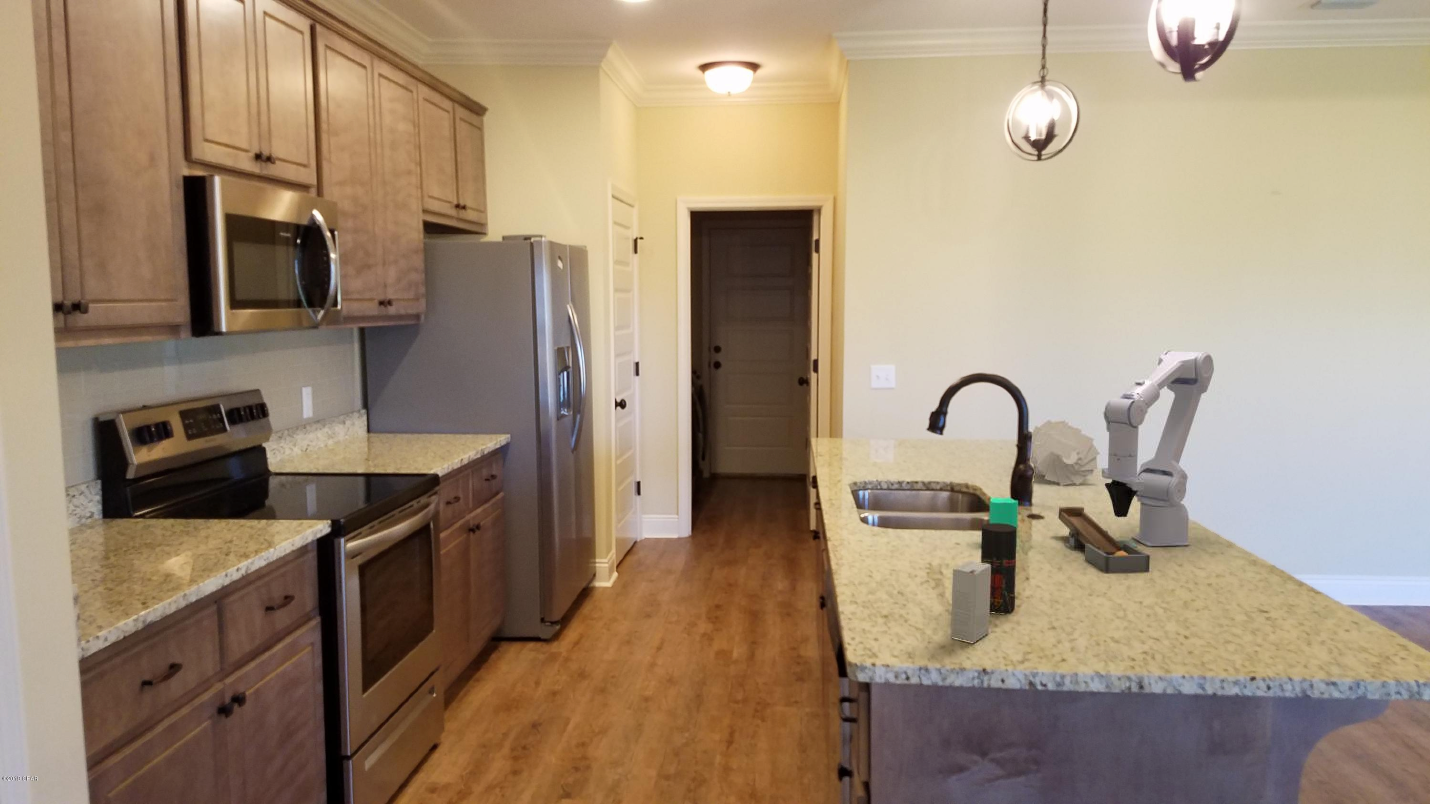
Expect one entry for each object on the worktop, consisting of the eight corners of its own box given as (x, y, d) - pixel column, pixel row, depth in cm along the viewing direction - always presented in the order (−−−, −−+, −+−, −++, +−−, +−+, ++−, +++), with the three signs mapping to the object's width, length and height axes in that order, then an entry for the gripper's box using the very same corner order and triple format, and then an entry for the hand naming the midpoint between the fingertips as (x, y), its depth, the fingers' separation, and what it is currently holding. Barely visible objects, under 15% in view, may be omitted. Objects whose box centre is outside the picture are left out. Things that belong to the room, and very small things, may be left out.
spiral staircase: (1063, 484, 284) (1085, 498, 259) (1011, 460, 285) (1028, 471, 261) (1090, 432, 282) (1115, 441, 257) (1037, 408, 283) (1057, 415, 258)
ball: (1131, 549, 183) (1134, 565, 182) (1124, 552, 186) (1127, 567, 185) (1115, 550, 183) (1118, 565, 182) (1109, 552, 186) (1111, 568, 185)
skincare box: (965, 628, 153) (966, 559, 151) (990, 634, 150) (992, 563, 149) (949, 639, 148) (950, 567, 147) (975, 645, 145) (976, 572, 144)
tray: (1126, 557, 191) (1127, 542, 191) (1149, 571, 182) (1149, 555, 182) (1084, 558, 191) (1085, 543, 191) (1105, 572, 182) (1105, 556, 181)
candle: (1018, 549, 199) (1019, 496, 197) (990, 548, 200) (991, 495, 199) (1015, 542, 205) (1016, 490, 203) (987, 541, 206) (988, 490, 204)
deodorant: (976, 602, 165) (978, 523, 164) (1009, 602, 165) (1011, 522, 163) (985, 614, 159) (986, 531, 158) (1019, 614, 159) (1021, 531, 157)
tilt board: (1100, 517, 209) (1101, 505, 209) (1142, 554, 190) (1144, 542, 189) (1058, 518, 209) (1059, 506, 208) (1095, 555, 190) (1097, 543, 189)
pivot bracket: (1102, 544, 202) (1103, 527, 202) (1111, 549, 198) (1112, 532, 197) (1064, 545, 202) (1065, 528, 201) (1073, 550, 198) (1073, 533, 197)
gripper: (1089, 449, 200) (1087, 508, 201) (1121, 460, 185) (1119, 525, 187) (1120, 448, 200) (1118, 508, 202) (1154, 460, 186) (1152, 524, 187)
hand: (1120, 516), depth 194 cm, fingers closed
